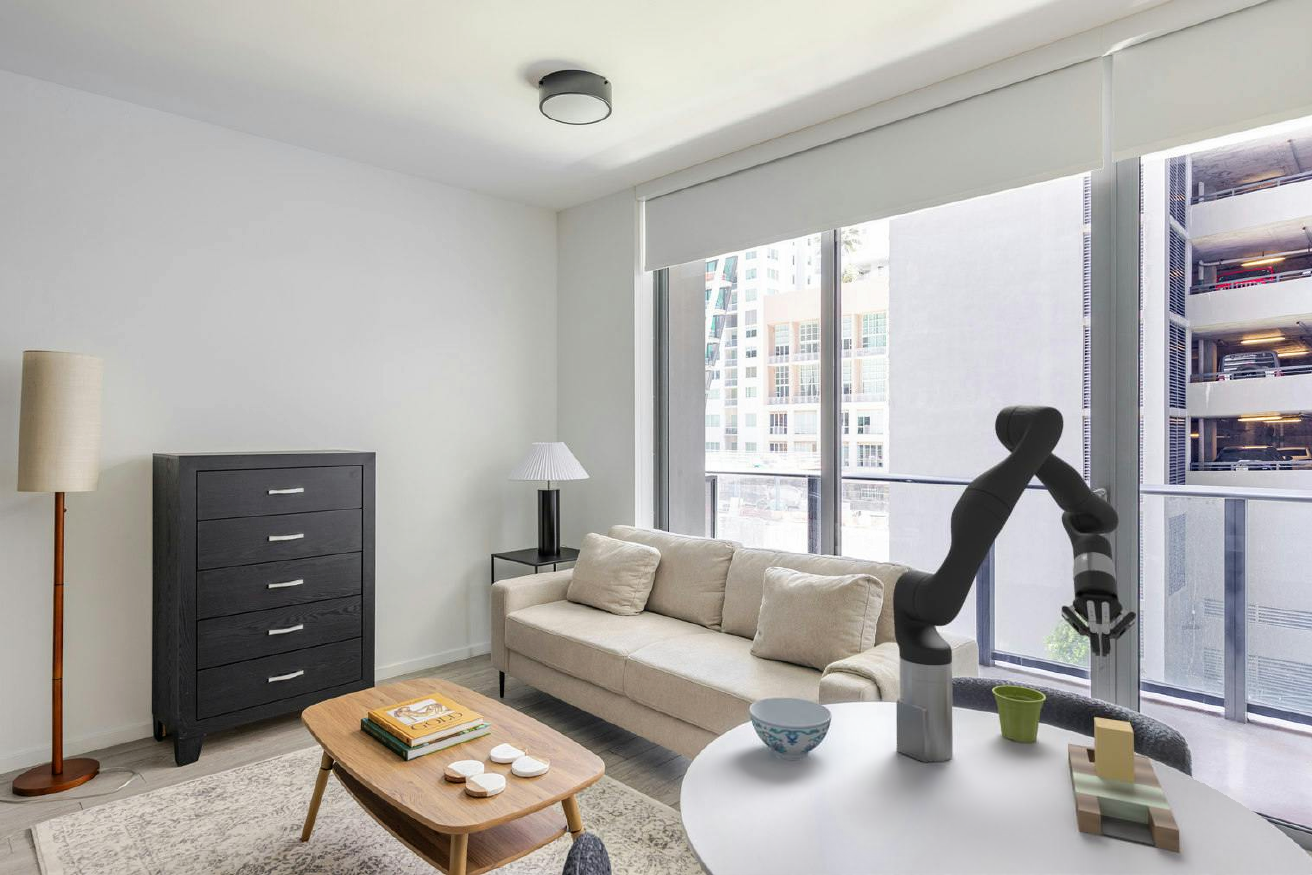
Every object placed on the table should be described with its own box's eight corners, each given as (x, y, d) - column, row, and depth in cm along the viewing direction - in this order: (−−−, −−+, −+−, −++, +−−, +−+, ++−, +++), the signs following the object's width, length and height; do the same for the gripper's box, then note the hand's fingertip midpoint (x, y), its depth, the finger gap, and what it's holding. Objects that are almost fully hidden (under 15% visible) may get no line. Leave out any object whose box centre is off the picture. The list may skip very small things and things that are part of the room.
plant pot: (1056, 747, 134) (1055, 701, 134) (1006, 746, 134) (1006, 700, 134) (1030, 728, 143) (1030, 685, 143) (984, 728, 143) (983, 685, 144)
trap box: (1068, 760, 128) (1068, 743, 128) (1148, 774, 122) (1147, 756, 122) (1078, 830, 103) (1078, 809, 103) (1179, 852, 98) (1179, 830, 98)
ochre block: (1094, 764, 119) (1094, 717, 119) (1130, 771, 116) (1129, 722, 117) (1097, 776, 114) (1096, 726, 115) (1134, 783, 112) (1133, 732, 112)
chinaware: (802, 732, 140) (802, 693, 140) (848, 763, 126) (848, 719, 126) (735, 743, 135) (735, 702, 135) (775, 775, 121) (775, 730, 121)
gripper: (1057, 566, 146) (1061, 638, 134) (1135, 571, 140) (1145, 647, 128) (1057, 588, 150) (1060, 660, 139) (1131, 594, 144) (1141, 669, 133)
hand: (1101, 653), depth 134 cm, fingers closed
